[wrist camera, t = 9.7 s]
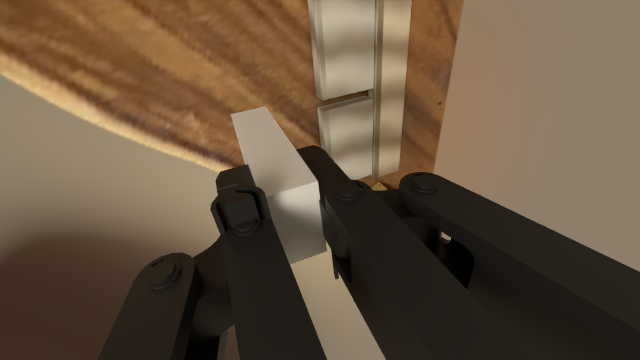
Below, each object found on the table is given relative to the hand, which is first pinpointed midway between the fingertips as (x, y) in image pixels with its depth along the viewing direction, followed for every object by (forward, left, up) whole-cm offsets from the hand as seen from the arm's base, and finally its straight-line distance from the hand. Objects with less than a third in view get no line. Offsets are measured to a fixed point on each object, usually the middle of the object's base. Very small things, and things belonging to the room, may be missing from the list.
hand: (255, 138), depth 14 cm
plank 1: (+1, +16, -26) cm, 30 cm away
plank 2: (+16, +16, -26) cm, 34 cm away
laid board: (+9, +23, -26) cm, 36 cm away
